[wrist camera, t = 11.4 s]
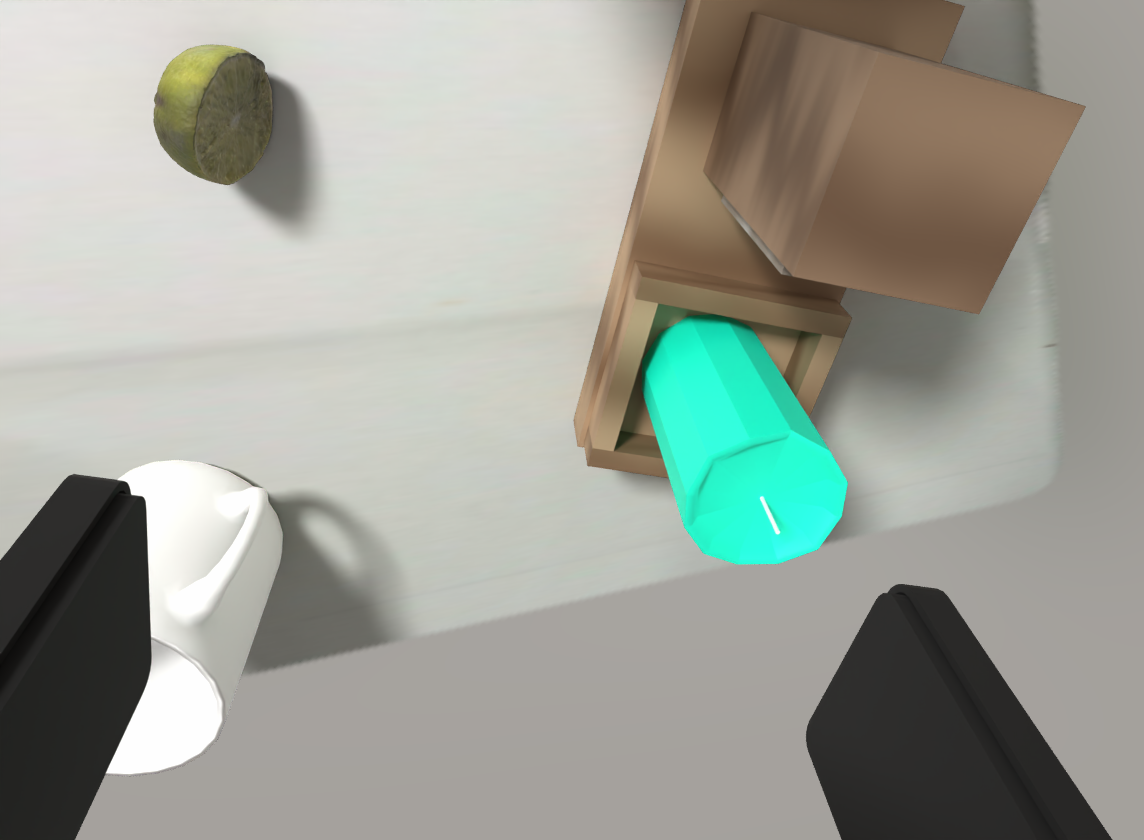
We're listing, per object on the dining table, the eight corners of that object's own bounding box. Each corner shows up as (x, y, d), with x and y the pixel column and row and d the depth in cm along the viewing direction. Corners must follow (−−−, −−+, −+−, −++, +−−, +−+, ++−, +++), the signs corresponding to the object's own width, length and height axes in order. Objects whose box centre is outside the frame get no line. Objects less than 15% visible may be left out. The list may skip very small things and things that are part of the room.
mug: (75, 551, 44) (-49, 733, 34) (157, 384, 39) (40, 538, 29) (245, 615, 47) (177, 799, 37) (338, 468, 43) (289, 633, 33)
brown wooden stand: (703, -64, 31) (836, -60, 19) (934, 1, 33) (1194, 42, 21) (573, 420, 42) (605, 624, 30) (754, 449, 44) (855, 653, 31)
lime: (254, 23, 32) (216, 37, 28) (312, 144, 34) (286, 175, 30) (151, 63, 32) (98, 83, 28) (216, 180, 35) (176, 214, 30)
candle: (792, 365, 39) (898, 522, 28) (699, 447, 40) (767, 622, 30) (707, 286, 36) (790, 427, 26) (613, 377, 38) (655, 542, 28)
